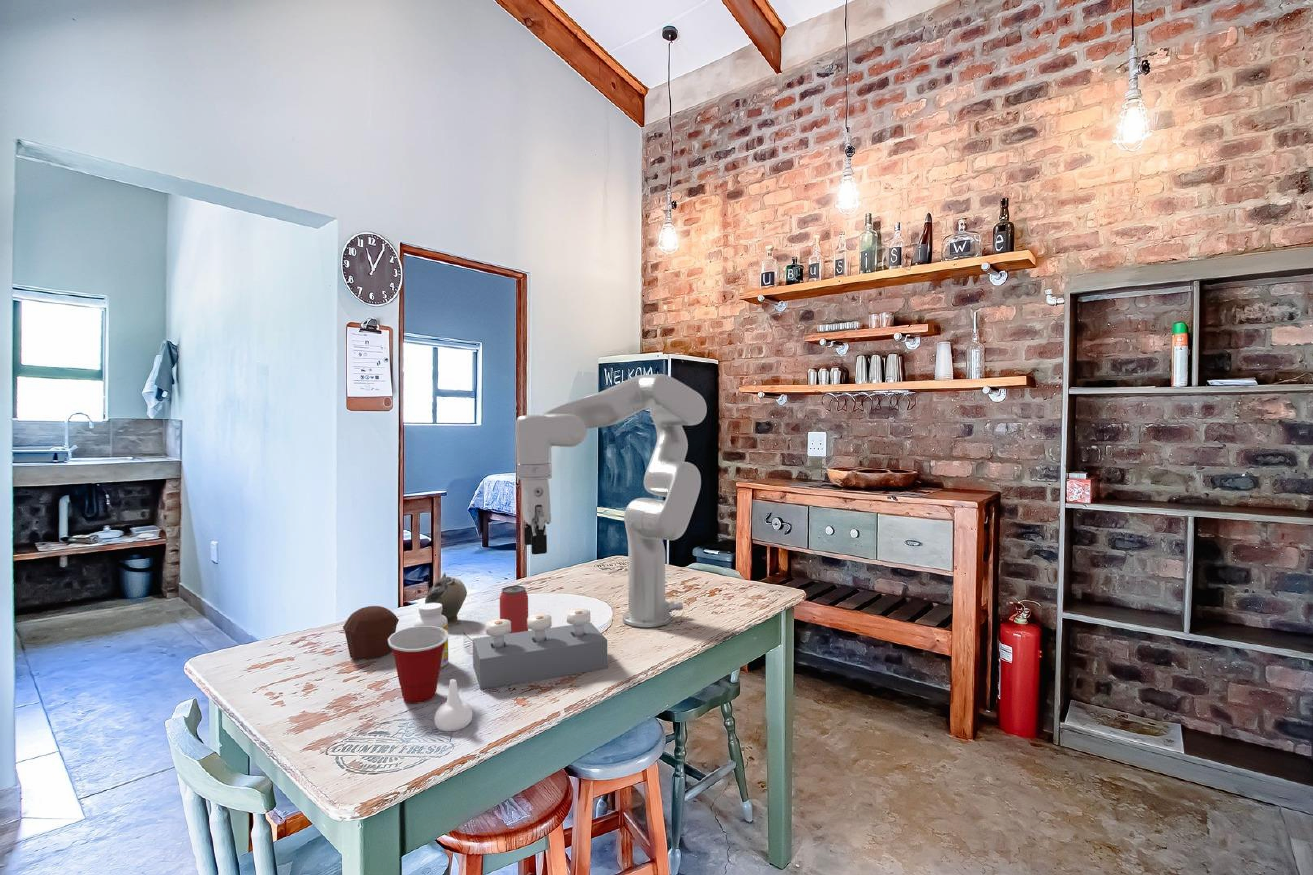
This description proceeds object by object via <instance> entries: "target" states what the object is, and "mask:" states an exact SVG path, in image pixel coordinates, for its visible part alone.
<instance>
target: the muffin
mask: <svg viewBox="0 0 1313 875" xmlns="http://www.w3.org/2000/svg"><path fill="white" fill-rule="evenodd" d="M398 622H400V619H399V618H398V616H397V615H396V614H395V613H394V612H393V611H391V610H390V609H389V608H387V607H384V606H380V605H370V606H365V607H361V608H359V609H357V610H356V611H354V612H352V613H351V614H350V616H349V617H348V618H347V620H346V621H345V623H344V624H343V626H342V629H343V630H344V634H345V639H346V643H347V649H348V653H349V654H348V655H349V657H351V658H353V659H354V660H365V661H369V660H372V659H380V658H382V657H384V656H387V655H390V654H391V653H392V649H391V647H390V646H389V643H388V638H389V637H390V636H391V635H392V634H394V633H395V632H397V625H398Z"/></svg>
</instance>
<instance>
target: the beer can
mask: <svg viewBox="0 0 1313 875" xmlns="http://www.w3.org/2000/svg"><path fill="white" fill-rule="evenodd" d="M526 589H527V588H526V587H525V586H522V585H510V586H505V587H503V588H502V589H501V593H500V595H499V596H500V597H499V619H506V620H510V621H511V632H510V633H516V632H524V631H529V629H528V627H527V618H528V617H529V596H528V592H527V590H526ZM508 634H509V633H508Z"/></svg>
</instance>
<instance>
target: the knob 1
mask: <svg viewBox="0 0 1313 875" xmlns="http://www.w3.org/2000/svg"><path fill="white" fill-rule="evenodd" d="M510 632H511V621H510V620H506V619H500V618H497V619H491V620H489V621H487V622H485V634H486V635H487V636H493V649H494V648H501V647H504V635H506V634H508V633H510Z"/></svg>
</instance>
